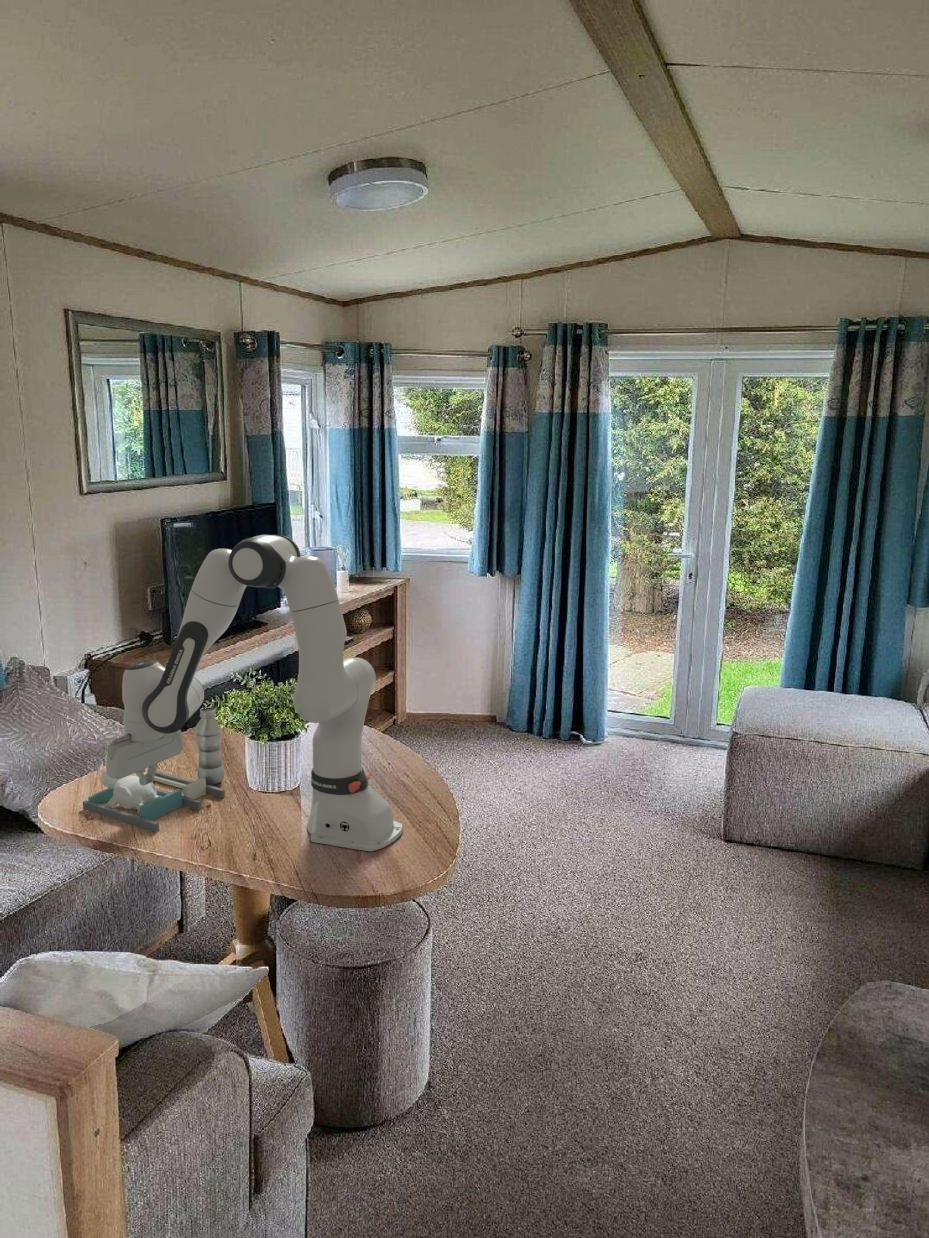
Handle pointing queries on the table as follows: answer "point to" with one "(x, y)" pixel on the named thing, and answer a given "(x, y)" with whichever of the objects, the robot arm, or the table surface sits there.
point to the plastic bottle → (209, 747)
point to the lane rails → (185, 800)
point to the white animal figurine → (129, 791)
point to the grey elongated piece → (186, 786)
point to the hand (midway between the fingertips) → (146, 783)
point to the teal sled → (149, 809)
